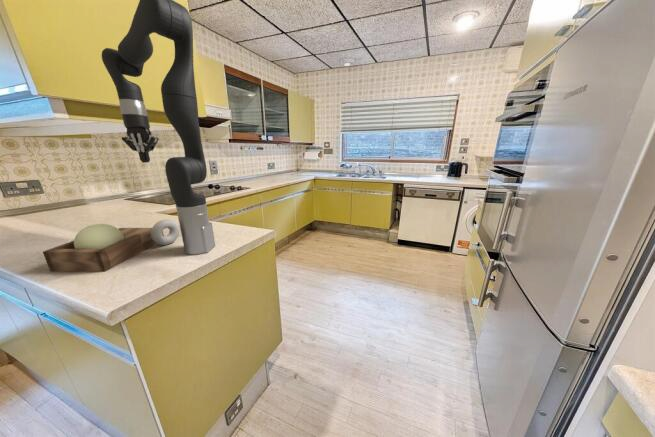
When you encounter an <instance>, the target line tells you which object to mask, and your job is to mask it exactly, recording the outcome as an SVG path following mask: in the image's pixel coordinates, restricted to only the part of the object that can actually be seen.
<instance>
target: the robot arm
mask: <svg viewBox="0 0 655 437" xmlns="http://www.w3.org/2000/svg"><path fill="white" fill-rule="evenodd" d="M193 30H194V29H193V21H192V17H191V15H190V12H189V11H188V9H187V8H186V7H185V6H183V4H181V3H178V2H176V1H175V0H139V2H138V4H137V7H136V9H135V12H134V15H133V18H132V21H131V24H130V27H129V29H128V31H127V33H126V35H125V36H124V37H123V38H122V40H121V41H120V42H119V44H118V45H117V49H113V48H111V47H110V48H109V47H105V48H104V49H103V50H102V51H101V61H102V63H103V65H104V67H105V69H106V70H107V72H108V75H109V76H110V77H111V80H112V82H113V84H114V86H115V89H116V92H117V98H118V102H119V109H120V113H121V117H122V121H123V125H124V127H125V128H126V135H125V136H123V137H121V140H122V141H123V142H124V143H125V144H126V145H127V146H128V147H129V148H130V149H131V150H132V151H135V152H137V153H138V156H139V160H140V162H141V163H143V164H144V163H146V164H148V163H150V161H151V157H150V152H151V151H152V152H153V151H154V149H155V147H156V145H157V144H158V143H159V141H160V140H159V138H158V137H157V136H155V135H153V134H152V131H151V130H150V128H151V126H150V122H149V115H148V112H147V108H146V105H145V102H144V95H143V92H142V88H141V87H140V85H138V84H137V83H134V82H132V81H130V80H128V79H127V78H126V77H125V76H129V77H133V78H138V77H140V76H142V75H143V69H144V65H145V63H146V62H147V61H148V60H150V58H151V57H152V55H153V53H154V44H153V42H152V40H151V37H150V35H151V34H153V33H154V34H156V35H159V36H160V37H163V38H166V39H169V40H171V41H173V44H174V46H173V47H174V58H173V59H174V60H173V63H172V65H171V67H170V69H169V70H168V72H167V73H166V75H165V77H164V79H163V80H162V81H161V82H162V83H161V86H160V93H161V101H162V106H163V111H164V114H165V116H166V118H167V120H168V121H169V122H170V124H171V126H172V127H173V128H174V130H175V131H176V133H177V134H178V136H179V138H180V139H181V142H182V147H183V151H184V156H176V157H170V158H168V159H167V160H166V163H165V166H164V167H165V168H164V169H165V177H166V179H167V183H168V187H169V191H170V195H171V198H172V200H173V201H174V203H175V208H176V213H177V219H178V223H179V230H180V234H181V240H182V244H183V248H184V249H183V250H184V254H187V255H200V254H207V253H209V252H210V251H212V250H213V249H214V248H215V247H216V239H215V235H214V230H213V227H214V226H213V222H210V219H209V212H208V205H207V200H206V196H205V194H202V193H198V192H194V191H193V187H192V185H196V184H200V183H203V182H204V181H205V180H206V178H207V173H208V172H207V164H206V163H207V162H206V158H205V154H204V149H203V144H202V136H201V131H200V130H201V128H200V123H199V107H198V100H197V99H198V98H197V91H196V81H195V71H194V70H195V68H194V31H193Z"/></svg>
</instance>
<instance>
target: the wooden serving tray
mask: <svg viewBox="0 0 655 437" xmlns="http://www.w3.org/2000/svg"><path fill="white" fill-rule="evenodd" d="M152 228H153V227H119V228H118V229H119V230H120V231H121V232H122V234H123V236H124V239H123V240H121V241H118V242H116V243H114V244H111V245H109V246H107V247H104V248H102V249H75V247H74V240H72V241H69V242H66V243H63V244H60V245H58V246H55V247H52V248H50V249H47V250H43V251H42V254H43V256H44V259H45V261H46V264H47V267H48V269H49V272H107V271H109V270H111V269H112V268H114V267H117V266H118V265H120V264H122V263H124V262H126V261H127V260H129V259H131V258H133V257H135V256H136V255H138V254H140V253H142V252H144V251H146V250H148V249H149V248H151V247H153V246H155V245H157V243H155V242H154V241H153V239H152V237H151V230H152ZM162 235H163V236H165V235H164V230H163V231H162Z"/></svg>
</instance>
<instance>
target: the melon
mask: <svg viewBox="0 0 655 437" xmlns="http://www.w3.org/2000/svg"><path fill="white" fill-rule="evenodd" d="M123 239H124V236H123V234H122V232H121V231H120V230H119V228H118V227H115V226H113V225H111V224H107V223H96V224H91V225H87V226H86V227H84V228H81V230H79V232H78V233H76V235H75V237H74V240H73V241H74V247H75V249H102V248H104V247H107V246H109V245H111V244H114V243H116V242H118V241H121V240H123Z"/></svg>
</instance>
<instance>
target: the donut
mask: <svg viewBox="0 0 655 437" xmlns="http://www.w3.org/2000/svg"><path fill="white" fill-rule="evenodd" d="M151 228H152V230H151V237H152V239H153V241H154V242H155V243H157V244H158V245H160V246H162V245H163V246H166V245H170V244H172V243H174V242H175V241H177V239H178V237H179V235H180V234H181V230H180V225H178V223H177V222H176V221H174V220H172V219H161V220H159V221H157V222H156V223H155V224H154V225H153V226H152V227H151ZM165 229H168V230H169V233H168V234H167V235H164V236H163V235H162V231H163V232H164V230H165ZM157 244H156V245H157Z"/></svg>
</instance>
